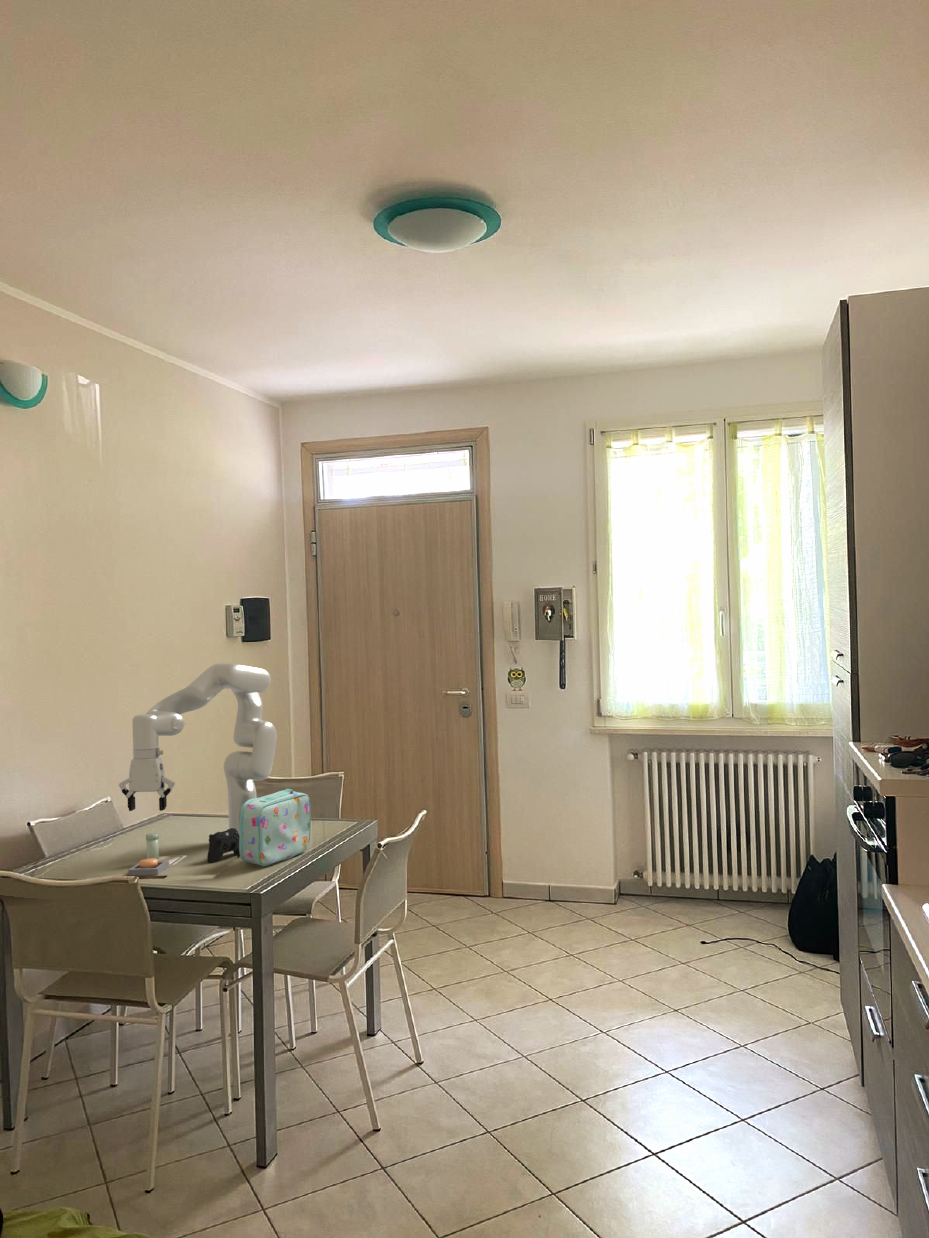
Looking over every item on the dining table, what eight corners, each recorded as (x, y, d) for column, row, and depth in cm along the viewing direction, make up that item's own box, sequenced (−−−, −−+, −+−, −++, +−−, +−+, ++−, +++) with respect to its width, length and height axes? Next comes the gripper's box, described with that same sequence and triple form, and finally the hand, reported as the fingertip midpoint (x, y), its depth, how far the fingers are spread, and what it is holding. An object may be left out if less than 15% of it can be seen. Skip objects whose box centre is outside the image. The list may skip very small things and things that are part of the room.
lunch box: (290, 847, 313) (288, 783, 313) (315, 850, 308) (313, 785, 308) (236, 867, 289) (233, 798, 289) (262, 870, 285) (259, 800, 285)
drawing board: (191, 857, 304) (191, 854, 304) (164, 878, 280) (163, 874, 280) (152, 858, 304) (152, 855, 304) (121, 879, 280) (121, 875, 280)
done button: (160, 863, 288) (160, 857, 288) (154, 868, 282) (153, 862, 282) (143, 864, 288) (143, 858, 288) (137, 868, 283) (136, 862, 283)
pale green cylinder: (160, 860, 297) (159, 832, 297) (158, 863, 293) (157, 835, 293) (148, 861, 296) (147, 833, 296) (145, 864, 293) (144, 835, 293)
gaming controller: (216, 867, 290) (215, 835, 290) (202, 865, 294) (201, 833, 294) (249, 857, 302) (248, 826, 302) (235, 855, 306) (234, 824, 306)
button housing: (169, 866, 289) (168, 861, 289) (158, 874, 280) (157, 868, 280) (140, 867, 290) (140, 861, 290) (128, 875, 281) (128, 869, 281)
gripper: (177, 752, 292) (179, 807, 292) (124, 753, 294) (125, 808, 293) (168, 755, 285) (169, 812, 284) (113, 756, 286) (114, 812, 286)
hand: (147, 809), depth 289 cm, fingers open, 9 cm apart
